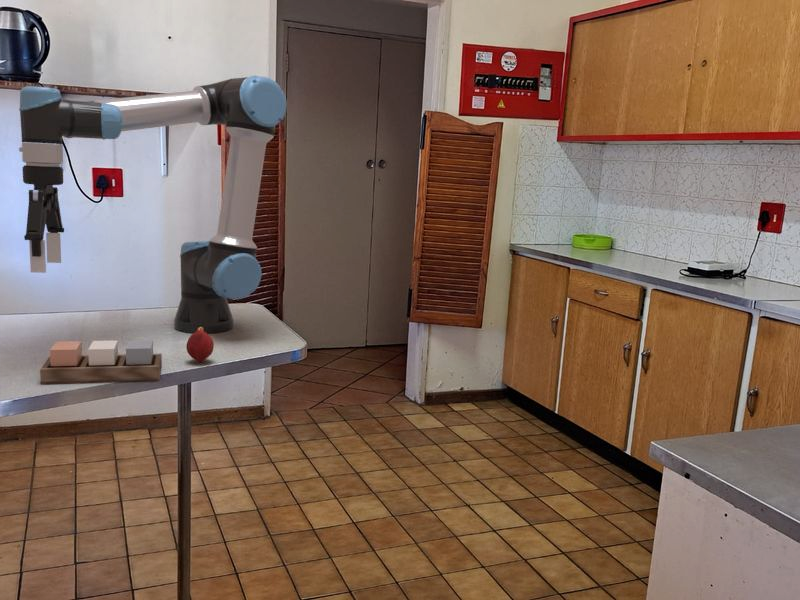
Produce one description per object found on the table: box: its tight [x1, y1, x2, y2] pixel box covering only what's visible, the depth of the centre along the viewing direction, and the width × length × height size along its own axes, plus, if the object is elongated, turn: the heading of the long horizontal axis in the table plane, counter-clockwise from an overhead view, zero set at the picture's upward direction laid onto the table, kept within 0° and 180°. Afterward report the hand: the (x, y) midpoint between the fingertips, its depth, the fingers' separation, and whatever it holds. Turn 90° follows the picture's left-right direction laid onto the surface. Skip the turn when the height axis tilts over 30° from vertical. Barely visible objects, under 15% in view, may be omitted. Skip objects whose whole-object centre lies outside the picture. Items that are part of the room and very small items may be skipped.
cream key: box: [87, 340, 119, 365], centre depth 151 cm, size 5×7×3 cm
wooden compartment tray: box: [39, 353, 163, 385], centre depth 151 cm, size 22×10×3 cm, turn 105°
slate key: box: [125, 339, 154, 365], centre depth 153 cm, size 5×7×3 cm
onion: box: [185, 327, 215, 363], centre depth 163 cm, size 6×6×8 cm
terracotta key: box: [49, 340, 83, 366], centre depth 149 cm, size 5×7×3 cm
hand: (46, 267), depth 156 cm, fingers open, 13 cm apart
